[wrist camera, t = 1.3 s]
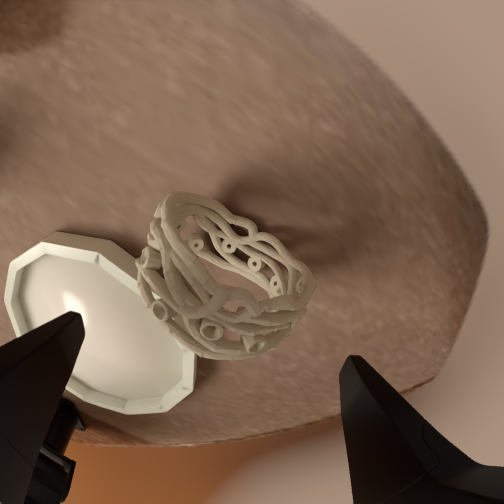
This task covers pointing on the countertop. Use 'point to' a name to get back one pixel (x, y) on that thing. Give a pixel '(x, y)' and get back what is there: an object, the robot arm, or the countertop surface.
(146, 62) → the countertop surface
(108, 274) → the ring dish
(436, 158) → the countertop surface
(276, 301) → the bracelet
